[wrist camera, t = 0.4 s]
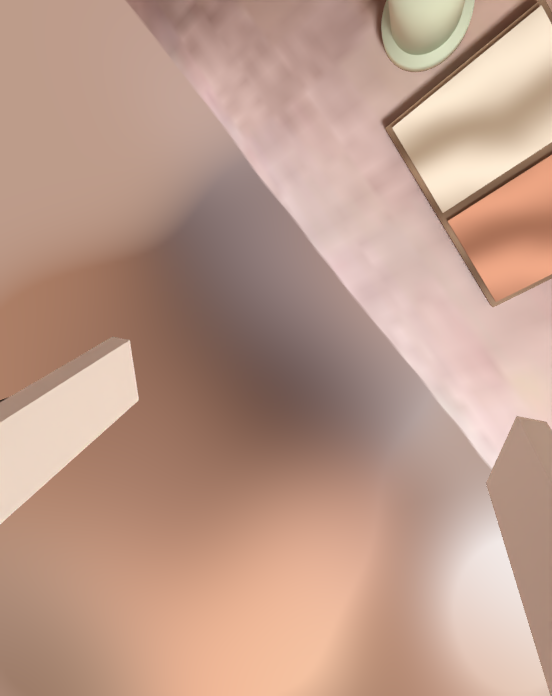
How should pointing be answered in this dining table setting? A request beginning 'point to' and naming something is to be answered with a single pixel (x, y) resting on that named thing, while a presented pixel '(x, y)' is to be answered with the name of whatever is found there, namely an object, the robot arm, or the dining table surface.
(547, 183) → the board
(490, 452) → the dining table surface
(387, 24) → the pawn
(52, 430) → the robot arm
